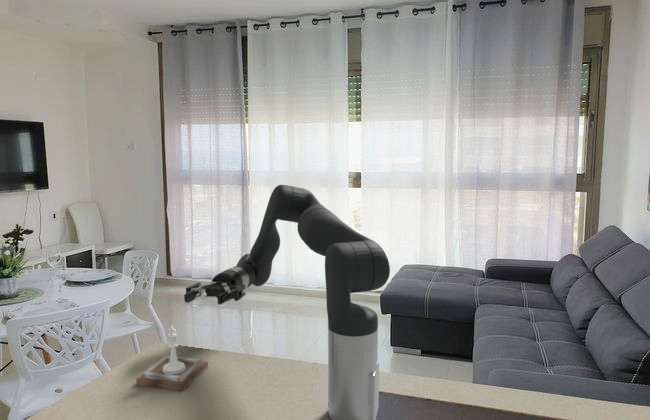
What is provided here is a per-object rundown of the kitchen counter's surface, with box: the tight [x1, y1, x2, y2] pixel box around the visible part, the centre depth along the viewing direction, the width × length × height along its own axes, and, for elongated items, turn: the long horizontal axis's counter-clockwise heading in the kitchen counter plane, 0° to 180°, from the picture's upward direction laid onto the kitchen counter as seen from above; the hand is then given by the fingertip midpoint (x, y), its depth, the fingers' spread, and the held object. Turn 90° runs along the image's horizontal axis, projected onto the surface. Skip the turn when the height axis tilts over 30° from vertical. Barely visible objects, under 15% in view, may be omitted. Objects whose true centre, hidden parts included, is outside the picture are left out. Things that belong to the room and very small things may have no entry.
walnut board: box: [136, 355, 209, 392], centre depth 107 cm, size 11×11×2 cm
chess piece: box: [162, 325, 186, 375], centre depth 106 cm, size 5×5×10 cm
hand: (202, 299), depth 114 cm, fingers open, 8 cm apart
